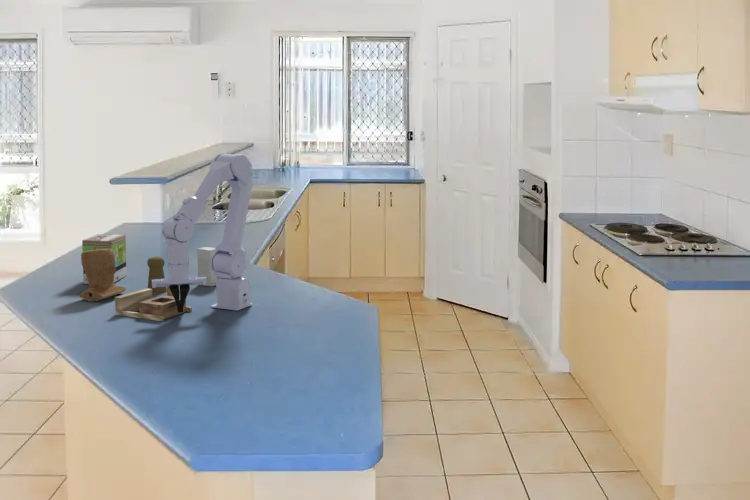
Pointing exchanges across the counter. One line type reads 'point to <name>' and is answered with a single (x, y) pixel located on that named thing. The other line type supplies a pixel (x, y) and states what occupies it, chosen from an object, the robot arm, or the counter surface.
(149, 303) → the walnut block
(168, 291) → the oak dowel
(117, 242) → the tea box
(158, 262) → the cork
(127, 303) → the birch rail and backstop
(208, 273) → the skincare box
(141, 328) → the counter surface
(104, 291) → the brown wooden stand
